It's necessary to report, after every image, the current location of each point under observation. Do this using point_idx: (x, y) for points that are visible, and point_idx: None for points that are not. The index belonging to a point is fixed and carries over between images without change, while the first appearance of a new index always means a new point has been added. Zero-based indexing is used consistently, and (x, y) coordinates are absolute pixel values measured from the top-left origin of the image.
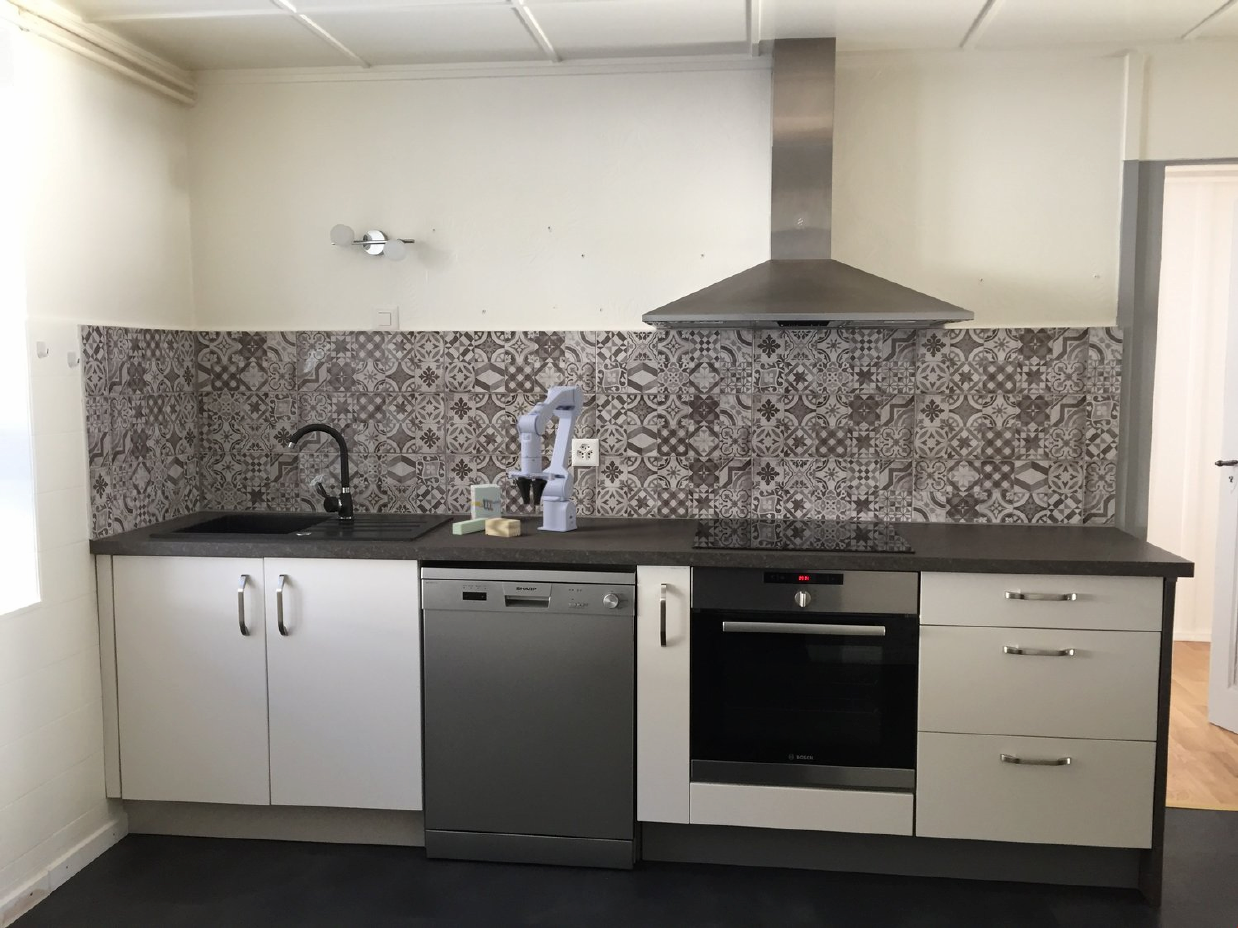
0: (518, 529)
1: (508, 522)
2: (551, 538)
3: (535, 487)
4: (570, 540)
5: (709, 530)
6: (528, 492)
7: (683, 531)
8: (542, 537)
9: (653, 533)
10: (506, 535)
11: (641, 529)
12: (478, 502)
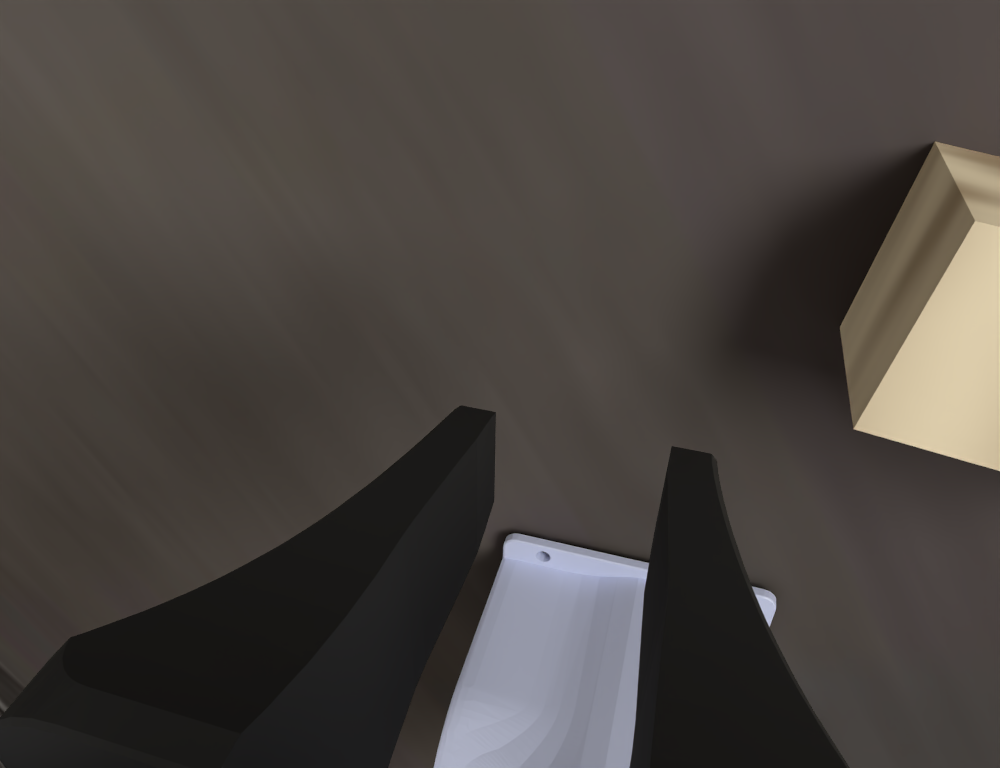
0: (857, 337)
1: (975, 220)
2: (430, 232)
3: (234, 604)
4: (223, 190)
5: None
6: (641, 705)
7: (8, 633)
8: (539, 257)
9: (53, 571)
10: (977, 157)
11: None
12: None
